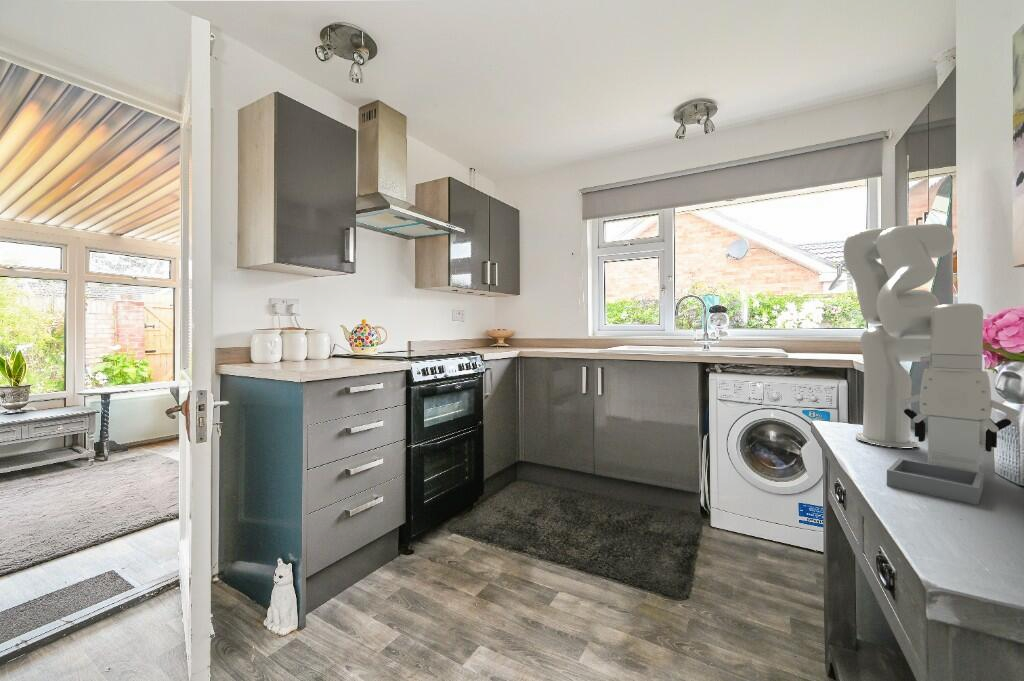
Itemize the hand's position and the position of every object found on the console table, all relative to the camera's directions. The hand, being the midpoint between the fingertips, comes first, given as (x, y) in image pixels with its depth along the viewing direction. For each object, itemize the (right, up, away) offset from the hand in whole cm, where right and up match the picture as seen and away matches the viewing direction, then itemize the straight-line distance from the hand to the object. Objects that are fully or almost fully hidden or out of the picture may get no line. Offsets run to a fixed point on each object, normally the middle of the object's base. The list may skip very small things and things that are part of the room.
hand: (953, 445), depth 88 cm
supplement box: (0, -7, +1) cm, 7 cm away
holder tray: (-10, -7, -6) cm, 13 cm away
